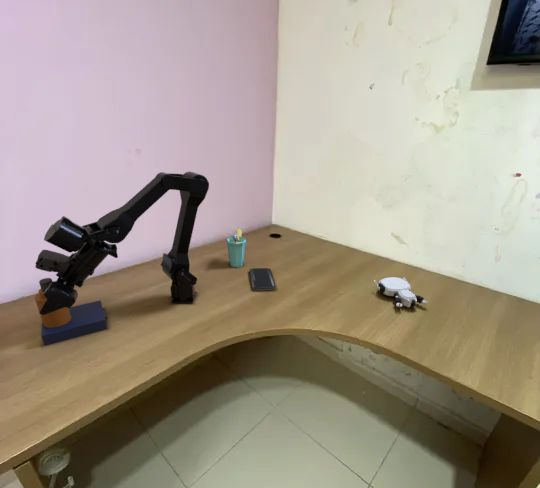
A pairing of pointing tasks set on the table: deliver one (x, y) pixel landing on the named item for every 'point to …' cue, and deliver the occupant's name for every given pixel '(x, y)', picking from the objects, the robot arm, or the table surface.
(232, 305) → the table surface
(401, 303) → the robot toy
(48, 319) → the bottle
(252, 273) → the phone
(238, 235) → the cup
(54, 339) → the case
